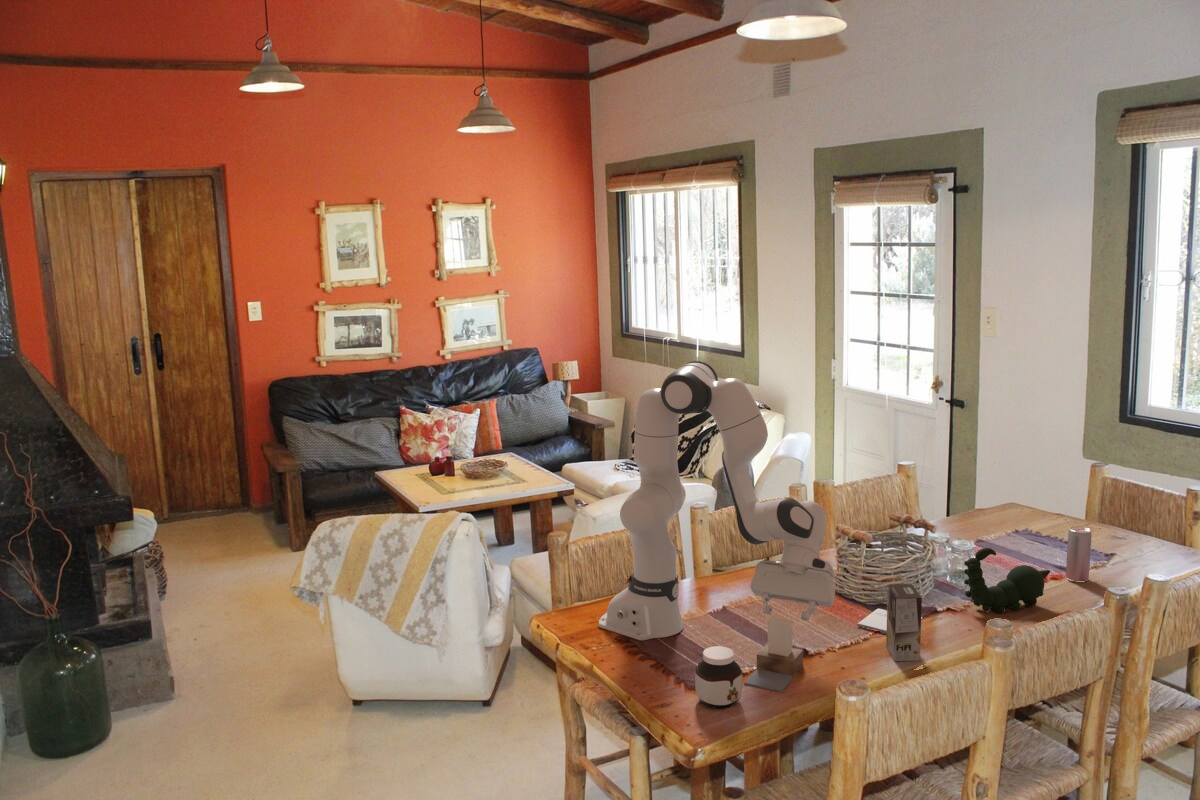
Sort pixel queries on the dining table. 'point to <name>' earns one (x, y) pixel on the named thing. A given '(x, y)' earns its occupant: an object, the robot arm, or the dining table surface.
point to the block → (780, 636)
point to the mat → (768, 680)
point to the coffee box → (903, 622)
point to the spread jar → (718, 678)
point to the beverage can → (1078, 553)
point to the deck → (780, 661)
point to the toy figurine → (1003, 585)
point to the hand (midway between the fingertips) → (785, 616)
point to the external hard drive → (875, 621)
